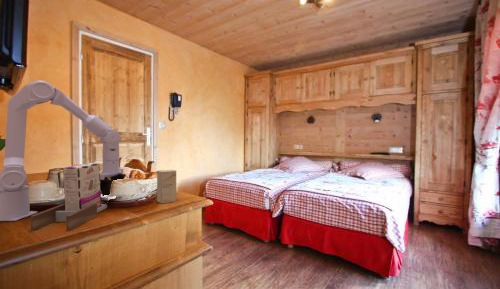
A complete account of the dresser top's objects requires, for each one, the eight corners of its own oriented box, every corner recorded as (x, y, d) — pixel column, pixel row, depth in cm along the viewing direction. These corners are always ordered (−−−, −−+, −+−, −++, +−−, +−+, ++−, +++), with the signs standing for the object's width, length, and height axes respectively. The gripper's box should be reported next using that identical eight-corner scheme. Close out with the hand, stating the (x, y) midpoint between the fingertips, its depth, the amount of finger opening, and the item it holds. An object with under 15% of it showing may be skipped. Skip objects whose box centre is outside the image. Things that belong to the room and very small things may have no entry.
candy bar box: (86, 209, 84) (85, 162, 83) (101, 209, 84) (100, 162, 84) (63, 221, 73) (62, 167, 72) (80, 221, 73) (79, 167, 72)
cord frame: (55, 221, 72) (55, 204, 72) (104, 199, 97) (104, 186, 97) (80, 221, 72) (80, 204, 72) (123, 199, 97) (123, 186, 97)
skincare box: (161, 204, 91) (161, 172, 90) (156, 201, 94) (156, 170, 94) (177, 201, 95) (176, 170, 95) (172, 198, 98) (171, 169, 98)
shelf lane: (30, 230, 66) (30, 216, 66) (63, 216, 77) (63, 203, 77) (70, 230, 66) (69, 216, 66) (97, 215, 78) (96, 203, 77)
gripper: (110, 162, 88) (111, 199, 88) (130, 158, 102) (130, 190, 103) (91, 162, 88) (92, 199, 88) (113, 158, 102) (114, 190, 103)
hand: (111, 194), depth 95 cm, fingers open, 7 cm apart
